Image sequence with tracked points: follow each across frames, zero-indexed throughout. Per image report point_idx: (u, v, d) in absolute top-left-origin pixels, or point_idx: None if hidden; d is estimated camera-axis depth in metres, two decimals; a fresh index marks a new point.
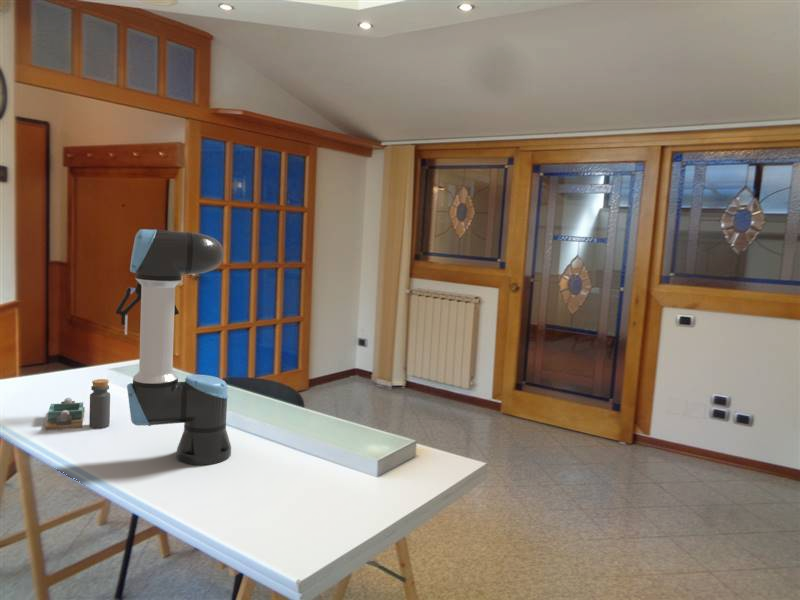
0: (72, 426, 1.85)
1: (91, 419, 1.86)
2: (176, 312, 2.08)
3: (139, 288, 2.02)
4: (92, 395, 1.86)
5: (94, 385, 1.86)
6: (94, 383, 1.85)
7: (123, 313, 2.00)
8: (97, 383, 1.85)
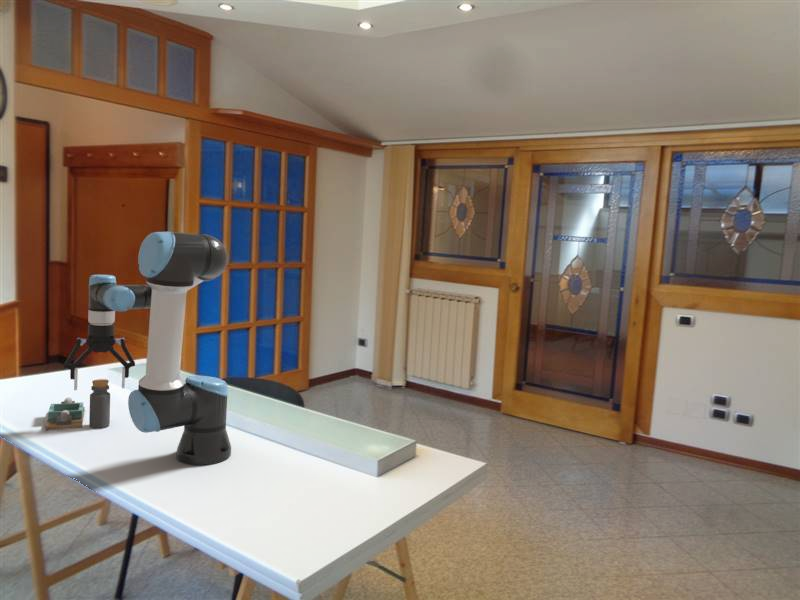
0: (72, 426, 1.85)
1: (91, 419, 1.86)
2: (132, 364, 1.90)
3: (90, 339, 1.84)
4: (92, 395, 1.86)
5: (94, 385, 1.86)
6: (94, 383, 1.85)
7: (72, 367, 1.83)
8: (97, 383, 1.85)
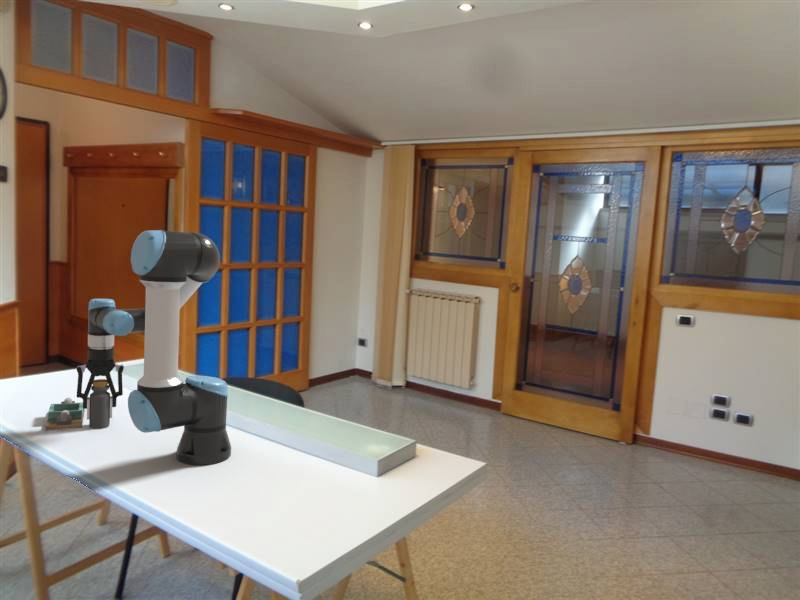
0: (72, 426, 1.85)
1: (91, 419, 1.86)
2: (120, 393, 1.89)
3: (89, 363, 1.85)
4: (92, 395, 1.86)
5: (94, 385, 1.86)
6: (94, 383, 1.85)
7: (84, 396, 1.85)
8: (97, 383, 1.85)
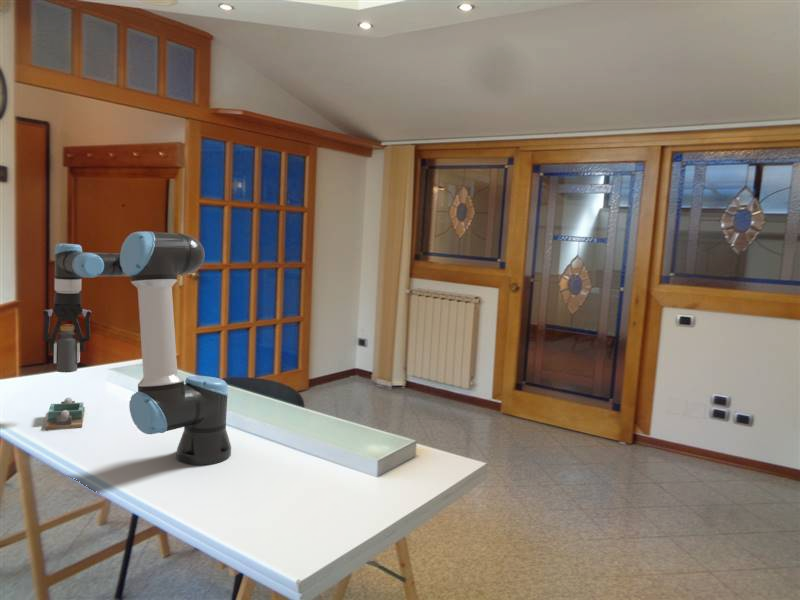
0: (72, 426, 1.85)
1: (58, 363, 1.88)
2: (87, 338, 1.91)
3: (56, 307, 1.86)
4: (59, 339, 1.88)
5: (61, 329, 1.88)
6: (61, 327, 1.87)
7: (51, 340, 1.87)
8: (64, 327, 1.87)
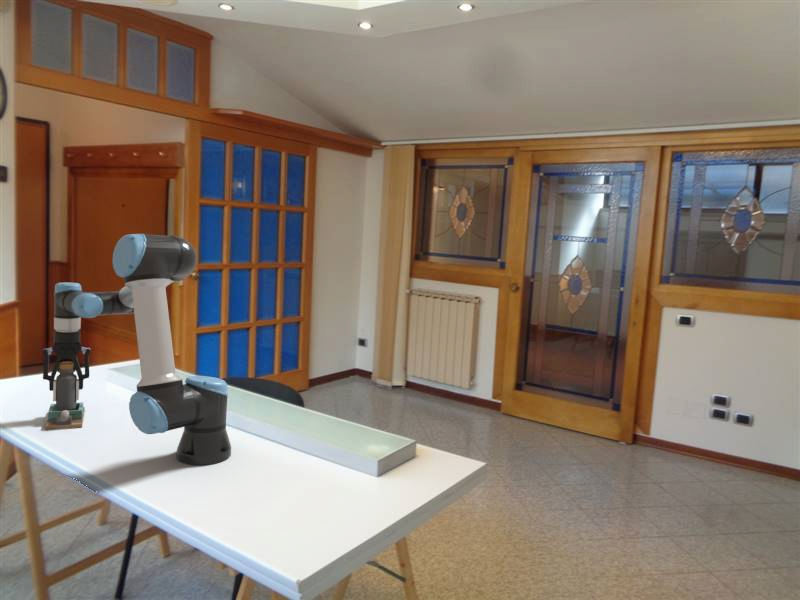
0: (72, 426, 1.85)
1: (57, 401, 1.89)
2: (86, 375, 1.93)
3: (55, 346, 1.88)
4: (58, 377, 1.89)
5: (60, 367, 1.89)
6: (60, 365, 1.89)
7: (51, 379, 1.88)
8: (63, 365, 1.89)
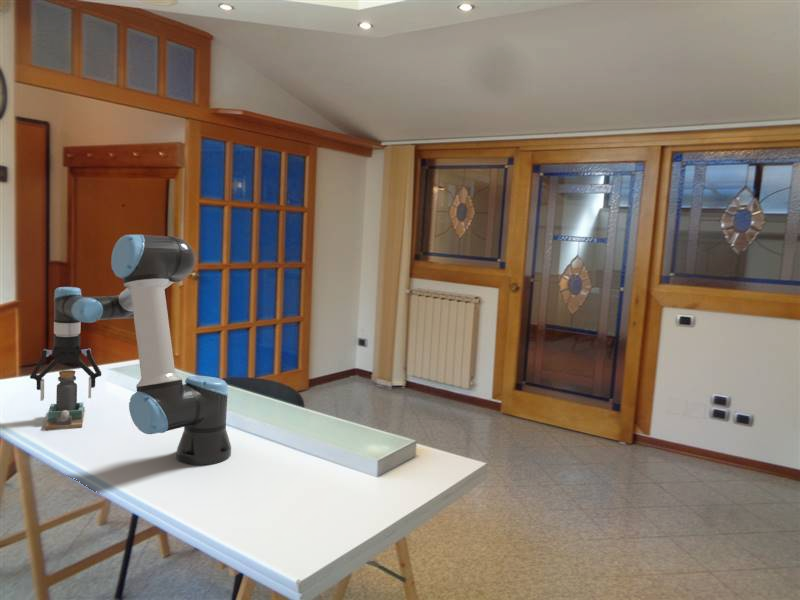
0: (72, 426, 1.85)
1: (58, 409, 1.90)
2: (98, 374, 1.94)
3: (56, 350, 1.88)
4: (59, 385, 1.89)
5: (61, 376, 1.89)
6: (61, 374, 1.89)
7: (38, 378, 1.87)
8: (63, 374, 1.89)
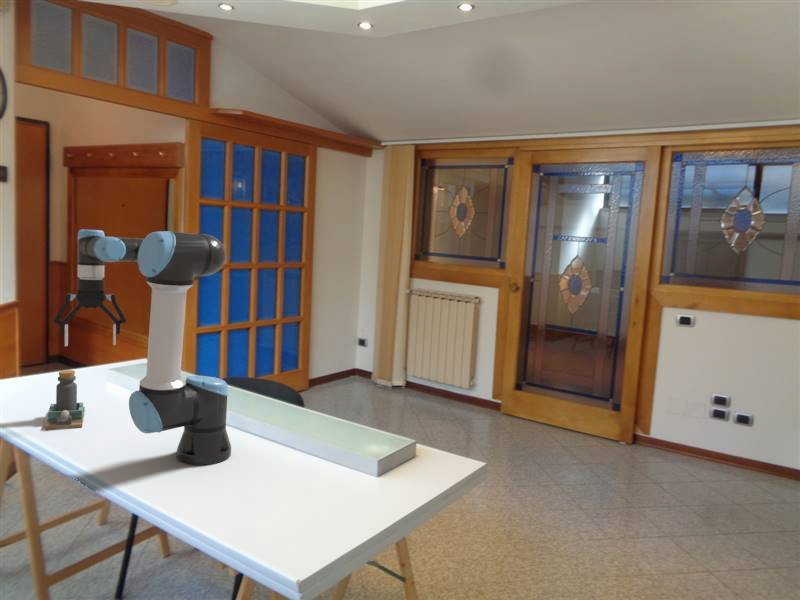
0: (72, 426, 1.85)
1: (58, 409, 1.90)
2: (123, 320, 1.89)
3: (80, 294, 1.83)
4: (58, 385, 1.89)
5: (60, 376, 1.89)
6: (60, 374, 1.89)
7: (62, 322, 1.81)
8: (63, 374, 1.89)
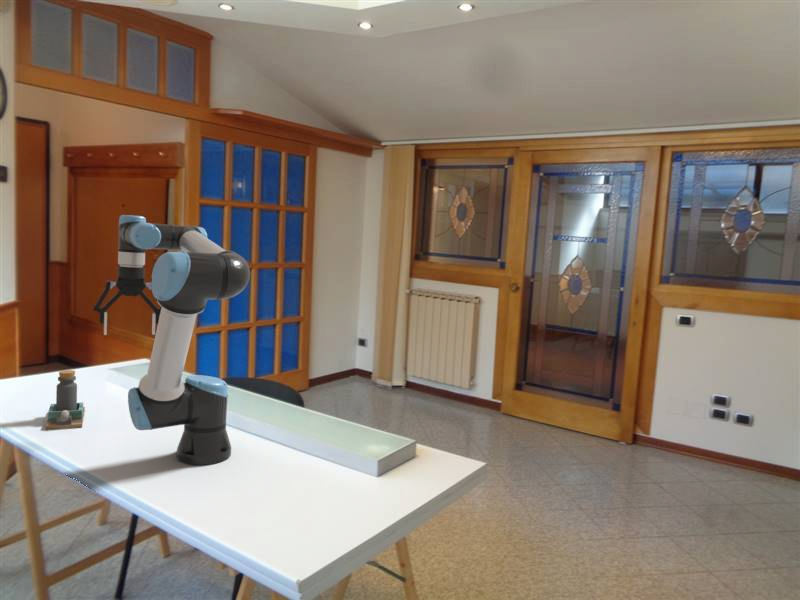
0: (72, 426, 1.85)
1: (58, 409, 1.90)
2: None
3: (120, 282, 1.77)
4: (58, 385, 1.89)
5: (60, 376, 1.89)
6: (60, 374, 1.89)
7: (102, 310, 1.76)
8: (63, 374, 1.89)
